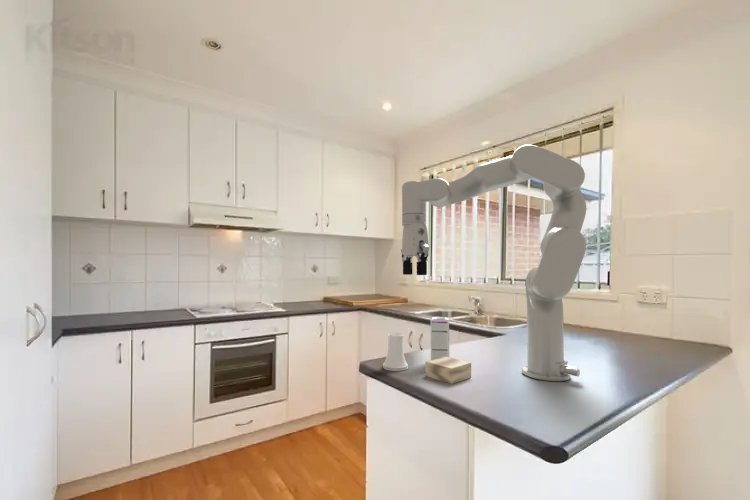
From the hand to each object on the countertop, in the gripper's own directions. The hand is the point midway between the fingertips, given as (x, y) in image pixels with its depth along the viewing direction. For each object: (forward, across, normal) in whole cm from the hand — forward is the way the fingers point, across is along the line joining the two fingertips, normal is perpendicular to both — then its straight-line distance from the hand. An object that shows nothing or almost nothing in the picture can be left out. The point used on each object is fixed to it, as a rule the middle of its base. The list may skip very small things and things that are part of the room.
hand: (414, 274), depth 114 cm
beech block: (+28, -13, -4) cm, 31 cm away
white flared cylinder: (+28, 0, +7) cm, 29 cm away
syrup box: (+28, -1, -8) cm, 30 cm away
